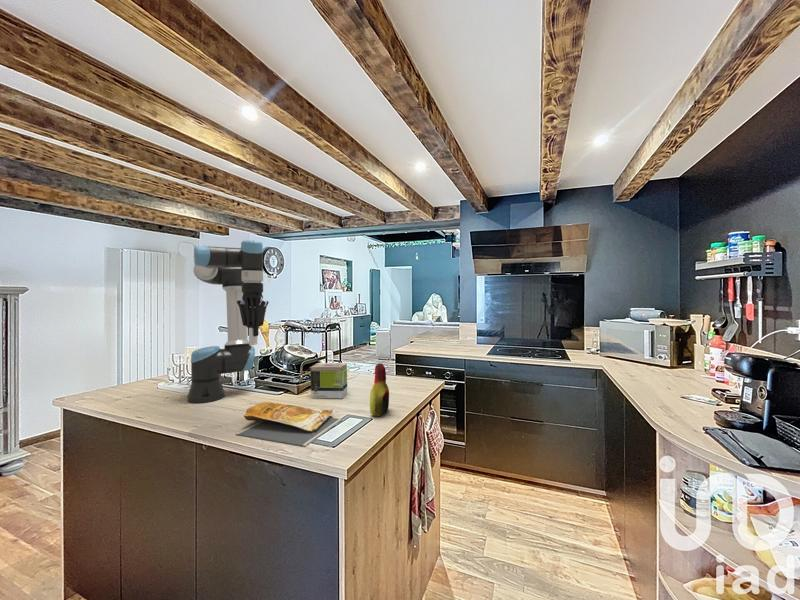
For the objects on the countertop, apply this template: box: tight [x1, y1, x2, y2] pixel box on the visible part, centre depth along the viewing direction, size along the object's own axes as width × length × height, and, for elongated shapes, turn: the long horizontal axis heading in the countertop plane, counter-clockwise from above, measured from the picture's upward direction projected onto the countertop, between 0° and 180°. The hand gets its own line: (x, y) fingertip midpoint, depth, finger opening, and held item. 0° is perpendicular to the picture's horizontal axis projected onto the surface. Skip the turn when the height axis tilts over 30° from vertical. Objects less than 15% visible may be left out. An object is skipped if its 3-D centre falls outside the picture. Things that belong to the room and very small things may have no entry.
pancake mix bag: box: [243, 401, 334, 432], centre depth 131 cm, size 7×19×28 cm
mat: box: [235, 416, 343, 448], centre depth 127 cm, size 28×24×1 cm
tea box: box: [310, 362, 348, 399], centre depth 165 cm, size 15×10×15 cm, turn 84°
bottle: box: [369, 362, 390, 417], centre depth 141 cm, size 12×6×20 cm, turn 156°
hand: (253, 344), depth 132 cm, fingers closed
